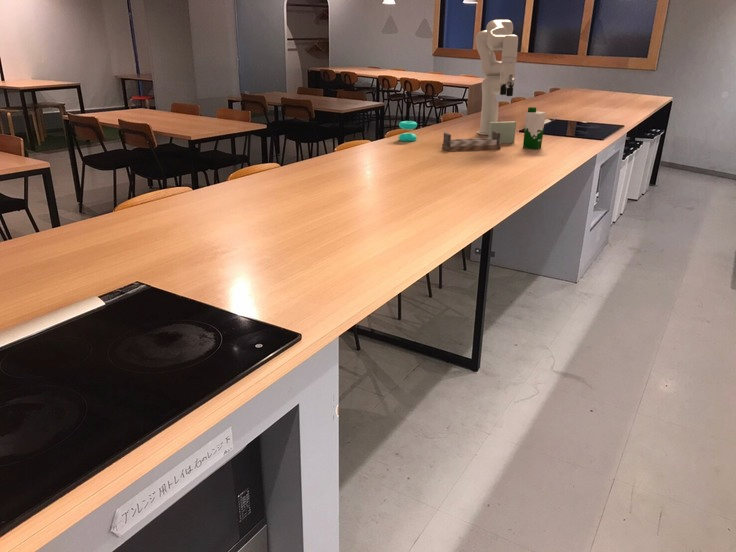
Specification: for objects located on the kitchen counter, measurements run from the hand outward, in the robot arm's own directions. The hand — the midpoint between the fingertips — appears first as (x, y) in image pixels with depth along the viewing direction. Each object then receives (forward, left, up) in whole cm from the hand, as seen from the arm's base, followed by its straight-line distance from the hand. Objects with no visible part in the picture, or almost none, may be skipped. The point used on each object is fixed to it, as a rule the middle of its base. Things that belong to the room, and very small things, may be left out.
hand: (506, 95), depth 306 cm
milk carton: (+17, +10, -25) cm, 32 cm away
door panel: (0, 0, -25) cm, 25 cm away
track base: (+13, -22, -25) cm, 36 cm away
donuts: (-17, -48, -25) cm, 57 cm away
